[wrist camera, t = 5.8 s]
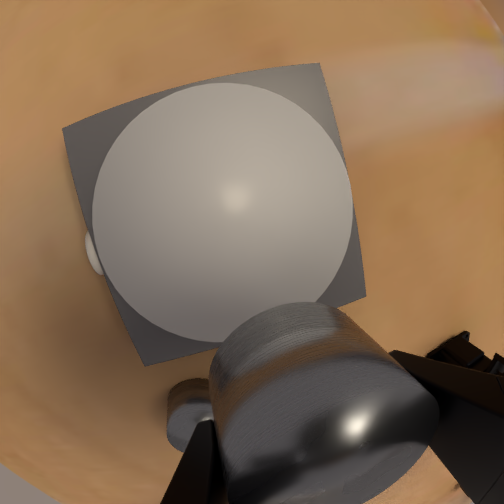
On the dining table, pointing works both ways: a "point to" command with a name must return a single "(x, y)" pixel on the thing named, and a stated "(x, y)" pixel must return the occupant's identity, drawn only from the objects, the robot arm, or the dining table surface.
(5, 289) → the dining table surface
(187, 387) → the cylinder
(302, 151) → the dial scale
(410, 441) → the cylinder
